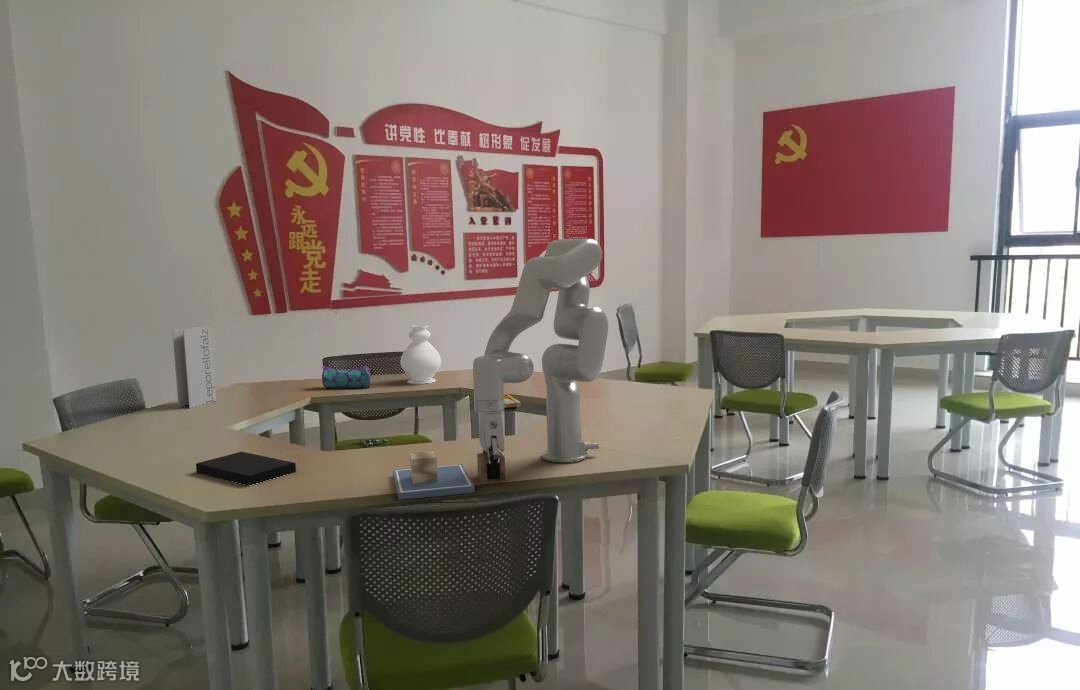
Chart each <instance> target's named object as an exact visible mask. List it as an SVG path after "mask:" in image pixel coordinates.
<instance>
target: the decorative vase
mask: <svg viewBox="0 0 1080 690" xmlns="http://www.w3.org/2000/svg"><path fill="white" fill-rule="evenodd" d="M427 328H429V325H428V324H416V325H410V329H412V330H411V331H409V334H408V337H409V339H410V340H411V343H410V344H409V345H408V346H407V347H406V349H405V350H404V351H403V353H402V354H401V357H400V361H399V362H400V366H401V368H402V370H403V372H404V373H405V374H406V375H407V376H408V377H409V378H410V379H409V380H407V384H409V383H410V385H426V384H425V383H429V384H433V383H432V382H434V383H436V382H437V379H435V378H434V376H435V374H436V373H437V371H438V370H439V369H440V368H441V365H442V359H441V358H442V357H441V355H440V353H439V352H438V350H437V348H435V347H434V346H433V345H432V344H431V343H430V342H429V341H428V340H429V338H430V337H431V332H430V331H429V330H428V329H427ZM435 381H436V382H435Z"/></svg>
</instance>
